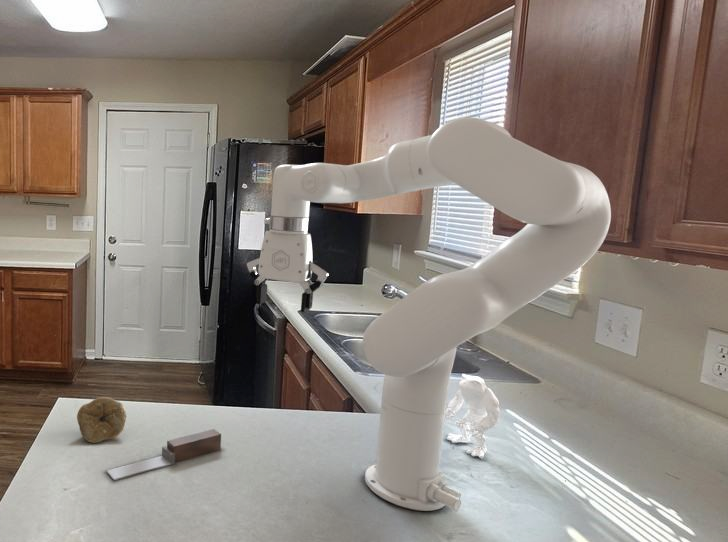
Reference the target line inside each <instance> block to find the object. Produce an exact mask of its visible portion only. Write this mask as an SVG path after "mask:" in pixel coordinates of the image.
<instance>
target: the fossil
mask: <svg viewBox="0 0 728 542" xmlns="http://www.w3.org/2000/svg"><path fill="white" fill-rule="evenodd" d="M76 420H77V424H78V427H79V431H80V435H81V436H82V438H83V439H84V440H86V441H87V442H89V443H91V444H97V443H100V442H103V441H104V440H105V441H106V440H114V439H115V438H118V436H120V434H121V433H122V432H123V431H124V429H125V424H126V420H127V412H126V409H125V408H124V405H123V403H122V402H121V401H118V400H115V399H114V398H111V397H109V396H108V397H107V396H105V397H104V396H99V397H96V398H94V399H93V400H91V401H90V402H88V403H84V404H82V405H81V406H80V408H79V409H78V411H77V414H76Z"/></svg>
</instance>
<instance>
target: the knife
mask: <svg viewBox="0 0 728 542" xmlns="http://www.w3.org/2000/svg"><path fill="white" fill-rule="evenodd" d="M221 447H222V433H220V432H219V431H217V430H216V429H215V428H213V429H208V430H204V431H200V432H197V433H193V434H188V435H184V436H181V437H177V438H172V439H169V440H167V441H166V445H163V446H162V447H161V455H160V456H155V457H152V458H148V459H145V460H141V461H137V462H133V463H130V464H129V463H128V464H125V465H122V466H118V467H114V468H111V469H107V470H106V473H107V474H108V475H109V476H110V477H111V479H112V480H113V481H118V480H121V479H125V478H129V477H132V476H135V475H139V474H142V473H146V472H150V471H154V470H157V469H161V468H164V467H167V466H172V465H175V463H178V462H181V461H185V460H188V459H192V458H196V457H199V456H203V455H207V454H210V453H213V452H217V451H220V450H221Z"/></svg>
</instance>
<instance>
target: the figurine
mask: <svg viewBox="0 0 728 542" xmlns="http://www.w3.org/2000/svg"><path fill="white" fill-rule="evenodd" d="M464 403H465V404H466V405H467V406H468V408H467V409H468V410H467V411H466V413H465V415H464V416H462V417H461V418H460V419H459V420H457V421H453V420H454V418H455V416H457V412H458V411H460V409H461V408H462V406H463V404H464ZM499 406H500V401H499V399H498V398H497V396H496V395H495V394H494V392H493V391H492V390H491V388H489V387H487V386H486V382H485V380H484V379H483V378H481V377H480V376H478V375H469V374H465V373H462V374H461V378H460V381H459V382H458V390H457V391H456V392H455V397H453V398H452V399H450V400H449V402H448V404H447V408H446V410H445V418H444V419H446V420H448V421H453V423H454V424H453V425H454V426H456V427H457V429H459V431H460V432H461V434H453V433H448V436H446V440H448V441H451V443H453V444H457V443H467V444H468V443H471V441H472V440H471V438H472V439H474V441H475V443H476V448H473V449H466V450H465V451H466V453H467V454H471V456H472V457H479V459H481V460H482V459H483V458H485V453H486V452H487V451H488V449H487V447H486V443H487V438H486V437H485V434H486V432H487V431H489V430H491V429H493V428H495V426H497V425H498V423H499V418H500V414H501V413H500V412H501V411H500V407H499ZM470 426H471V428H470Z"/></svg>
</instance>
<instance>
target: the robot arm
mask: <svg viewBox="0 0 728 542" xmlns="http://www.w3.org/2000/svg"><path fill="white" fill-rule="evenodd" d="M272 179H273V180H272V193H271V207H270V208H271V209H270V216H269V217H268V218H264V221H263V222H264V225H266V226H268V229H269V230H266V231H265V232H264V236H263V239H262V244H261V248H260V254H259V257H258V258H256V259H253V260H250V261H249V262H247V263H246V267H247V270H248V272H249V276H250V277H251V279H252V281H253V282H254V285H256V291H255V299H256V304H257V305H261V304H264V303H267V296H268V295H267V294H268V284H267V283H266V282H268V280H271V281H279V282H285V283H292V284H299V285H300V286H301V287H302V289H303V291H304V292H302V294H301V302H300V303H301V304H300V312H301V313H302V314H303V313H304V314H305V313H307V312H309V311H310V310H311V309H312V307H313V301H314V300H313V299H314V293H315V292H316V291H317V290H318V289H320V288H321V287H322V286H323V285H324V283H325V281H326V280H327V278H328V277H329V272H327V271H326V270H325V269H323V268H321V267H320V266H319V265H317V264H315V263H314V262H313V243H312V235H311V233H309V232H308V229H309V220H310V206H311V203H316V204H317V203H318V204H350V203H357V202H363V201H369V200H375V199H380V198H385V197H390V196H395V195H397V196H398V195H402V194H405V193H406V194H407V193H411V192H418V191H423V190H428V189H434V188H435V189H436V188H441V187H447V186H453V185H454V186H455V185H456V186H458V187H460V188H462V189H463V190H465V191H466V192H468V193H470V194H472V195H473V196H475V197H477V198H478V199H480V200H482V201H483V202H485V203H486V204H488V205H490V206H491V207H493V208H495V209H496V210H498V211H500V212H501V213H503V214H505V215H506V216H507V217H510V218H512V219H514V220H517V221H519V222H521V223H525V224H526V225H525V226H524V227H522V229H520V230H519V231H518V232H517V233H515V234H514V235H511V236H509V238H507V239H505V240H504V241H502V242H501V243H499V244H498V245H497V246H496V247H495V248H494V249H492V250H491V251H490V252H489V253H487V254H485V255H484V256H483V257H481V258H480V259H478V260H477V261H475V262H474V263H472V264H470V265H469V266H467V267H465V268H463V269H460V270H455V271H451V272H446V273H441V274H437V275H436V276H433V277H431V278H429V279H428V280H426V281H424V282H423V283H421V284H420V285H418V286H417V287H415V288H414V289H413V290H411V291H410V292H409V293H407V294H406V295H404V297H402V298H401V299H400V300H399V301H397V302H396V303H394V304H393V305H392V306H390V307H389V308H388V309H386V310H385V311H383V313H381V314H380V315H378V316H377V317H375V319H374V320H372V321H371V322H370V323H369V325H368V326H367V327H366V329H365V331H364V333H363V337H362V345H361V346H362V352H363V355H364V358H365V359H366V361H367V363H368V364H369V365H370V366H371V367H372V368H373V369H374V370H376V371H377V372H379V373H381V374H383V375H384V377H383V383H382V392H381V401H380V402H381V403H380V411H379V412H380V414H379V425H378V436H377V437H378V438H377V447H376V457H375V458H376V460H375V464H372V465H370V466H368V467H367V468H366V470H365V472H364V482H365V484H366V486H368V488H369V489H370V491H372V492H373V493H374V494H376V495H377V496H378V497H380V498H381V499H383V500H385V501H386V502H389V503H391V504H393V505H396V506H399V507H402V508H405V509H410V510H413V511H422V512H423V511H424V512H428V511H430V512H431V511H437V510H440V509H442V508H444V507H447V508H449V509H451V510H453V511H455V512H458V511H459V510H460V508H461V505H462V500H461V498H462V493H461V492H460V491H458V490H456V489H454V488H451V487H449V486H448V485H447V483H446V474H445V473H443V472H441V471H440V465H441V456H442V446H443V437H444V429H445V427H444V426H445V419H446V418H445V410H446V409H447V401H448V392H449V385H450V380H451V374H452V371H453V367H454V363H455V359H456V354H457V349H458V347H459V346H460V345H462V344H464V343H465V342H468V341H469V340H470V339H473V338H474V337H476V336H478V335H481V334H483V333H485V332H488V331H490V330H492V329H494V328H495V327H498V325H499V324H501V323H502V322H504V320H506V319H507V318H509V317H510V316H511V315H512V314H514V313H515V312H517V311H519V310H520V309H522V308H524V307H525V306H526V305H527V304H529V303H531V302H532V301H534V300H536V299H537V298H539V297H541V296H542V295H543V294H544V293H546V292H547V291H549V290H551V289H552V288H554V287H555V286H557V285H558V284H560V283H561V282H563V281H564V280H566V279H568V277H570V276H571V275H573V274H574V273H575V272H577V271H578V270H579V269H581V268H583V266H584V265H585V264H587V262H588V261H590V260H591V258H592V257H594V255H595V254H596V253H597V252H598V251H599V249H600V248H601V246H602V244H603V243H604V241H605V240H606V237H607V235H608V232H609V229H610V226H611V220H612V208H611V203H610V198H609V194H608V192H607V189H606V187H605V185H604V184H603V182H602V181H601V179H600V178H599V176H597V175H596V174H595V173H594V172H593V171H591V170H589V169H588V168H586V167H584V166H581V165H579V164H575V163H573V162H567V161H564V160H560V159H558V158H556V157H554V156H551V155H549V154H547V153H545V152H543V151H541V150H539V149H537V148H535V147H533V146H531V145H528V144H526V143H525V142H523V141H521V140H519V139H516V138H514V137H512V135H511V133H510V132H509V131H508V130H507V129H506V128H504V127H503V126H501V125H499V124H497V123H494V122H492V121H488V120H485V119H482V118H479V117H472V116H467V117H466V116H465V117H457V118H455V119H452V120H450V121H448V122H446V123H444V124H442V125H440V126H439V127H438V128H437V129H436V130H435V131H434V132H433V134H429V135H426V136H425V135H424V136H420V137H417V138H413V139H408V140H405V141H400V142H399V141H398V142H397V143H395V144H393V145H391V146H390V148H389V149H388V151H387V154H385V155H384V156H381V157H379V158H375V159H371V160H368V161H363V162H359V163H353V164H349V165H348V164H346V165H345V164H337V163H327V162H313V163H306V164H281V165H277V166H276V167H275V168H274V171H273V178H272ZM257 266H258V268H257ZM257 269H258V271H257ZM313 273H314V275H317V278H316V280H315V281H314V282H313V281H312V280H311V279H312V275H313Z"/></svg>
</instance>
